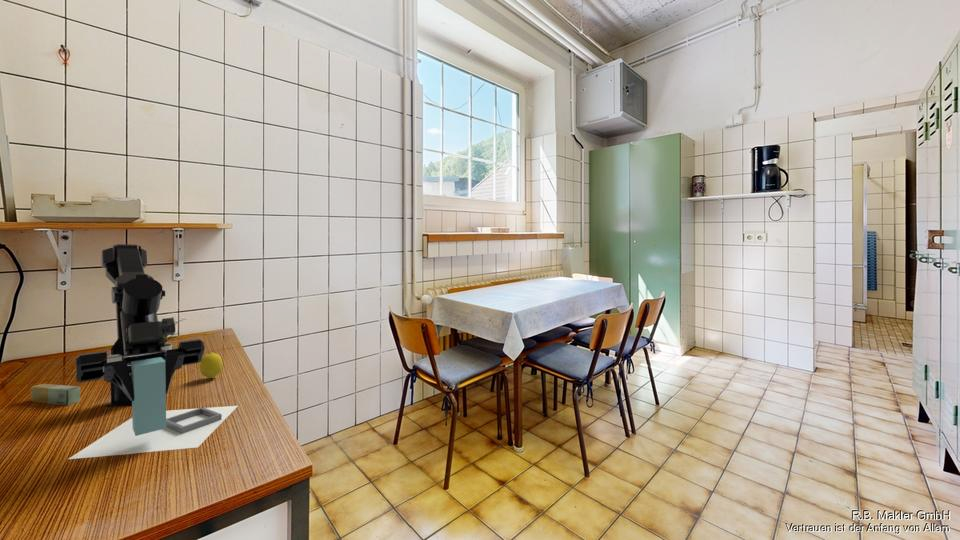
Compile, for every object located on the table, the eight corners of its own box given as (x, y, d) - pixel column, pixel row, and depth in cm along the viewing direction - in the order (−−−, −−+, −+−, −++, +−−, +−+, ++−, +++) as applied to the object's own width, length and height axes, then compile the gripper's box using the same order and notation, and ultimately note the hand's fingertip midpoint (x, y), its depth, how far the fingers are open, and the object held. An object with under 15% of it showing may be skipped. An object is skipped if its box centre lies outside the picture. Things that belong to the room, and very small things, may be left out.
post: (132, 428, 72) (131, 361, 71) (162, 420, 75) (161, 357, 75) (135, 436, 69) (134, 366, 68) (166, 428, 72) (165, 361, 72)
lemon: (207, 375, 115) (207, 349, 114) (226, 375, 115) (226, 349, 115) (195, 381, 109) (195, 354, 109) (215, 381, 109) (215, 354, 109)
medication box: (81, 402, 94) (81, 386, 94) (67, 406, 91) (67, 389, 91) (43, 398, 96) (43, 382, 96) (29, 402, 93) (29, 386, 93)
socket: (162, 425, 80) (162, 419, 80) (202, 412, 87) (202, 407, 86) (181, 433, 76) (181, 428, 76) (221, 419, 83) (221, 414, 83)
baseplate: (67, 464, 66) (67, 459, 66) (139, 416, 86) (139, 412, 86) (197, 452, 71) (197, 447, 71) (238, 409, 91) (238, 405, 91)
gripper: (74, 310, 67) (77, 387, 60) (202, 301, 81) (216, 363, 74) (75, 345, 72) (77, 419, 66) (194, 332, 86) (206, 392, 79)
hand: (149, 396), depth 71 cm, fingers closed on post, 4 cm apart
